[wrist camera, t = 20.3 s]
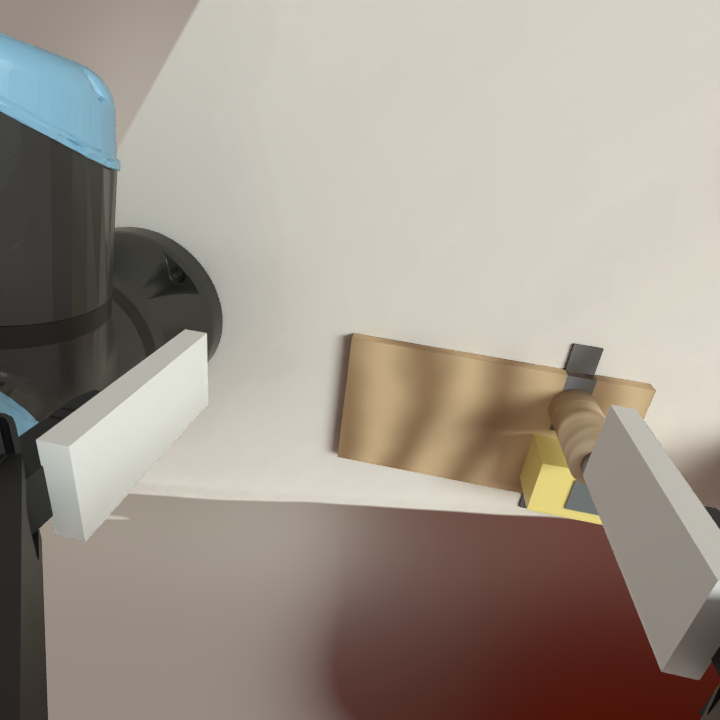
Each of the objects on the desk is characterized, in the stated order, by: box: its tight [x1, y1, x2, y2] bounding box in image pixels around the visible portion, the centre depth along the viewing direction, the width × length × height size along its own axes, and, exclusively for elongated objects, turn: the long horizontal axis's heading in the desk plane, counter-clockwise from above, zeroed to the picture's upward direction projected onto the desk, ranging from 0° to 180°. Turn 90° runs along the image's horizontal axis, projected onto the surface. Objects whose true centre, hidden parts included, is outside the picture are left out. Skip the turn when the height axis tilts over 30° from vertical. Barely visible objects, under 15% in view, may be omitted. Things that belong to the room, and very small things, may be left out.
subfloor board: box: [337, 333, 656, 508], centre depth 45 cm, size 26×18×1 cm
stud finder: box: [520, 434, 602, 525], centre depth 43 cm, size 7×5×5 cm
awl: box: [549, 389, 605, 485], centre depth 37 cm, size 4×4×13 cm
